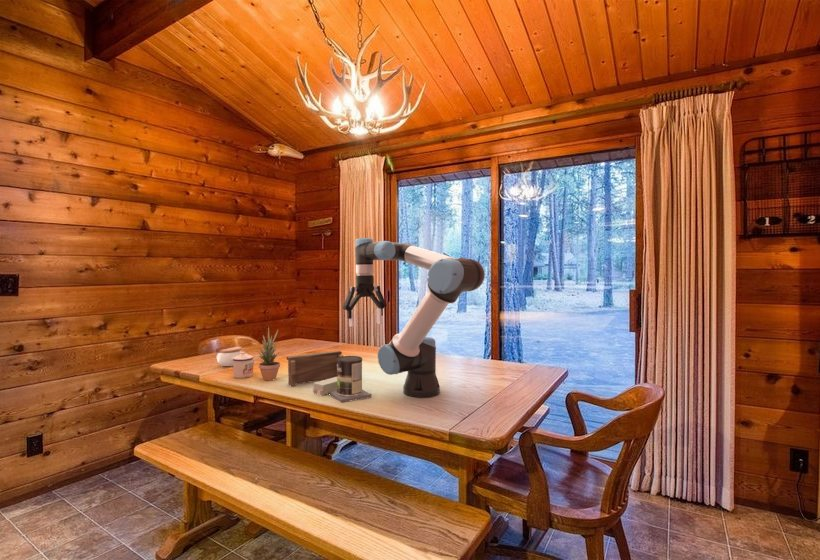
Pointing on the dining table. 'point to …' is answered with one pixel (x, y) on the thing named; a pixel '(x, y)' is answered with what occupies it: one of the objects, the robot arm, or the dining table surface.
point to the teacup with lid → (243, 365)
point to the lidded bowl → (227, 354)
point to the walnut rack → (312, 367)
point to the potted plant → (269, 359)
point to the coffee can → (349, 376)
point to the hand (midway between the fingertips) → (365, 325)
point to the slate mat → (343, 398)
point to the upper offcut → (325, 384)
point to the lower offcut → (323, 391)
